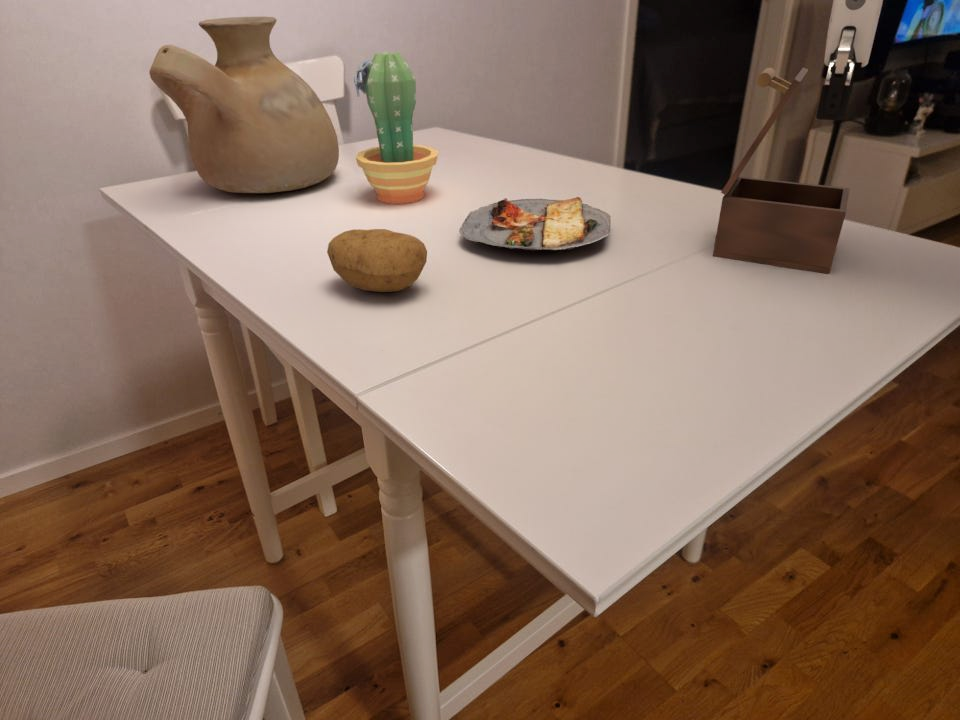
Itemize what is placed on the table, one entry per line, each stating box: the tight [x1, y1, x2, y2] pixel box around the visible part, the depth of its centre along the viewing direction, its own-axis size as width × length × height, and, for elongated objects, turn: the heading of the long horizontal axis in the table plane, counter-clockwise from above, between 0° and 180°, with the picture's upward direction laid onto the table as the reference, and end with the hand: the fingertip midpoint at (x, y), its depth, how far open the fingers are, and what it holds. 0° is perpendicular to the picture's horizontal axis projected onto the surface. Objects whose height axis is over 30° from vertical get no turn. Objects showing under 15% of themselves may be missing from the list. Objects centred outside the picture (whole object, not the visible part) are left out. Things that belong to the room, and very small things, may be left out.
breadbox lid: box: [720, 67, 809, 196], centre depth 92 cm, size 16×12×5 cm
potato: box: [326, 228, 428, 293], centre depth 87 cm, size 10×14×8 cm
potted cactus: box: [353, 51, 439, 205], centre depth 119 cm, size 15×15×25 cm
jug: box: [148, 16, 340, 194], centre depth 126 cm, size 29×34×30 cm
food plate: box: [458, 196, 612, 252], centre depth 105 cm, size 25×23×4 cm
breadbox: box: [712, 176, 851, 275], centre depth 96 cm, size 16×12×9 cm
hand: (832, 112), depth 86 cm, fingers open, 9 cm apart
